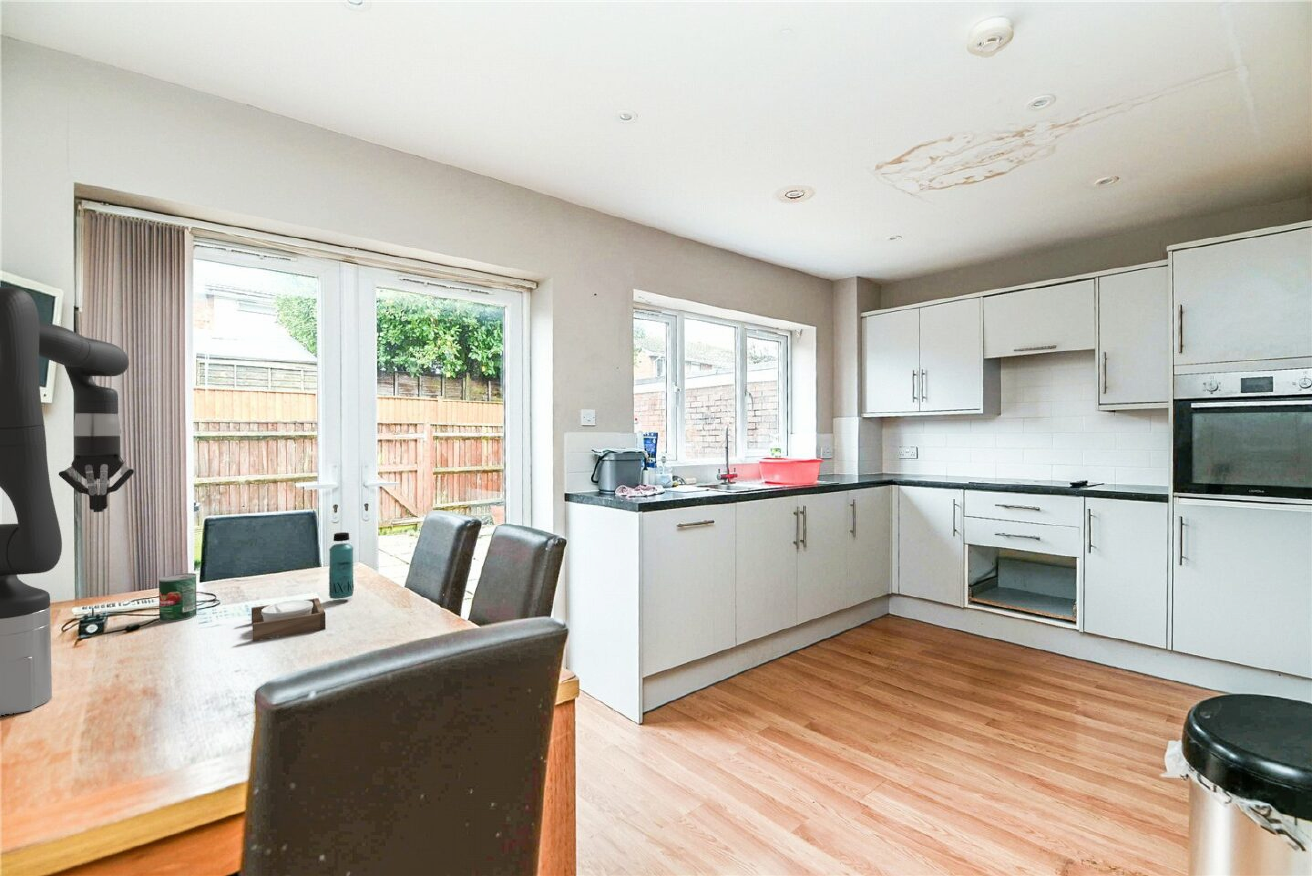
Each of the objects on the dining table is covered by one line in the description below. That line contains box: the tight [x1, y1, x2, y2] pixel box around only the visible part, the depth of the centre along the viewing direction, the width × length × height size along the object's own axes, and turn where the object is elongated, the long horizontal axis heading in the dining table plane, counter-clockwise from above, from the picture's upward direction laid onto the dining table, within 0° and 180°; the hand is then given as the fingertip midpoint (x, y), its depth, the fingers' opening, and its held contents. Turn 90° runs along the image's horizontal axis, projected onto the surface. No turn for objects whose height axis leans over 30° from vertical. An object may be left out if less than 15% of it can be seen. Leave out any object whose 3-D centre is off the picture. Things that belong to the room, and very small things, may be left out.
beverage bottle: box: [328, 532, 355, 600], centre depth 175 cm, size 6×7×20 cm
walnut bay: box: [250, 597, 327, 642], centre depth 153 cm, size 16×15×4 cm
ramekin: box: [261, 599, 313, 621], centre depth 152 cm, size 11×11×5 cm
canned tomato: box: [158, 572, 198, 623], centre depth 160 cm, size 8×8×11 cm
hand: (98, 511), depth 133 cm, fingers closed
